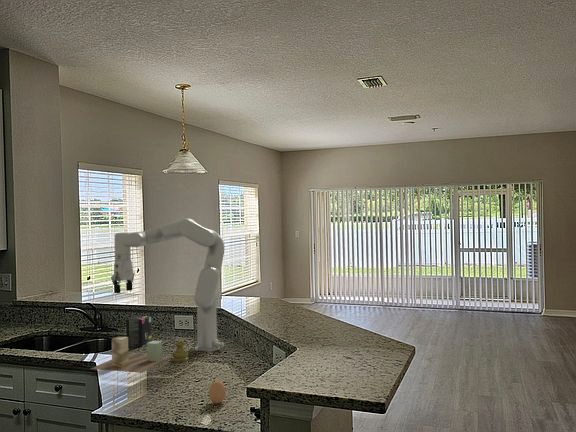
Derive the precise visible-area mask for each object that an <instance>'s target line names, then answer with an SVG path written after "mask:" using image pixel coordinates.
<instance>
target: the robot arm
mask: <svg viewBox="0 0 576 432" xmlns="http://www.w3.org/2000/svg"><path fill="white" fill-rule="evenodd" d="M183 237H185V238H186V239H188V240H190V241H191V242H194V243H196V244H197V245H199V246H201V247H203V248H207V253H206V255H205V261H204V265H203V268H202V269H201V270H200V272H199V274H198V279H197V283H196V288H195V293H194V302H195V305H196V306H197V308H196V309H197V310H196V311H197V312H196V314H197V315H196V316H197V317H196V318H197V322H196V323H197V345H196V346H195V347H194V350H195V351H197V352H198V351H199V352H216V351H219V350H220V349H221V348H224V347H225V342H223V341H220V340H219V339H218V336H217V335H218V332H217V330H218V328H217V326H218V325H217V324H218V323H217V315H218V314H217V304H218V303H217V300H218V299H217V298H218V297H217V292H216V291H217V287H218V282H219V280H220V278H221V273H222V272H221V271H222V266H223V261H224V257H225V255H224V254H225V242H224V241H223V238H222V236H221V235H220V234H219V233H218V232H217V231H215V230H213V229H210V228H209V229H208V228H205V227H203V226H202V225H200V224H198V223H197V222H196V221H195V220H194V219H192V218H186V217H185V218H182V219H180V220H175V221H172V222H168V223H164V224H161V225H159V226H156V227H154V228H150V229H147V230H143V231H135V232H117V233H115V234H114V265H113V275H111V277H110V278H111V282H112V285H113V288H114V289H113V292H114V294H121V285H120V284H121V282H123V281H126V283H125V284H126V287H125V288H126V289H125V290H126V291H131V292H132V291H133V282H134V280H135V279H134V278H135V272H134V269H133V268H134V267H133V262H132V257H131V255H132V253H131V251H132V250H131V248H139V247H144V246H147V245H148V246H150V245H152V244H157V243H161V242H169V241H173V240H176V239H180V238H183Z"/></svg>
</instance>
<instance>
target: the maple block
mask: <svg viewBox="0 0 576 432" xmlns="http://www.w3.org/2000/svg"><path fill="white" fill-rule="evenodd" d="M128 353H129V347H128V337H127V336H116V337H114V338H113V337H112V338H111V360H112V366H113V367H123V366H126V365H128V364H129V358H128Z"/></svg>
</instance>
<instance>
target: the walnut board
mask: <svg viewBox="0 0 576 432" xmlns="http://www.w3.org/2000/svg"><path fill="white" fill-rule="evenodd" d="M128 358H129V364H128V365H126V366H123V367H113V366H112V359H110V360H108V361H105V362H103V363H100V364H98V365H96V366H92V367H91V368H89V370H99V371H114V372H126V373H139V374H143V373H144V372H147V371H149V370H150V369H152V368H155V367H157V366H158V365H160V364H162V363H165V362H166V361H168V360H170V359H172V358H173V357H172V355H165V354H162V359H161V360H159V361H147V353H136V352H135V353H133V352H132V353H131V352H128Z"/></svg>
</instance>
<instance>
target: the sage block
mask: <svg viewBox="0 0 576 432" xmlns="http://www.w3.org/2000/svg"><path fill="white" fill-rule="evenodd" d="M146 354H147V361H159V360H161V359H162V355H163V341H161V340H152V341H151V342H148V343H147V346H146Z"/></svg>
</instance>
